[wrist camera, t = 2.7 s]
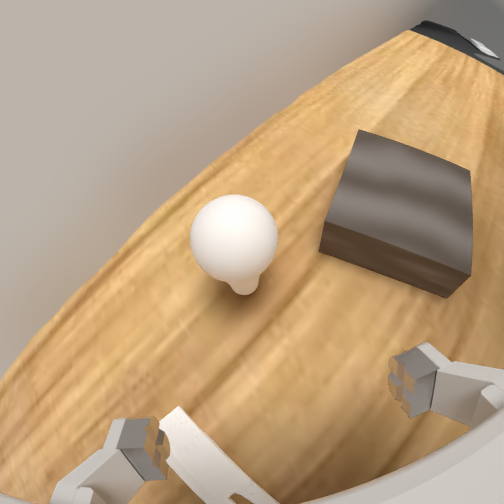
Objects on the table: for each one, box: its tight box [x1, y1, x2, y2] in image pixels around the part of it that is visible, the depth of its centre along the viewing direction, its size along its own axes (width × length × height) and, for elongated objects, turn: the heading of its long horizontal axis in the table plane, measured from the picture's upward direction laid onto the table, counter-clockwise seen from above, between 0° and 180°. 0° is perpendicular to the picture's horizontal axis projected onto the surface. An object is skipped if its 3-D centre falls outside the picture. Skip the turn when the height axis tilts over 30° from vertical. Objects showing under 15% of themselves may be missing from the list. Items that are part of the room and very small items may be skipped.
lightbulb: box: [190, 195, 278, 295], centre depth 24 cm, size 6×6×11 cm
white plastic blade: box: [159, 406, 280, 504], centre depth 19 cm, size 5×15×1 cm, turn 44°
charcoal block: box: [319, 130, 473, 298], centre depth 28 cm, size 14×14×5 cm
